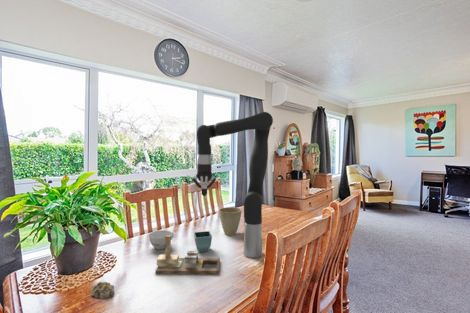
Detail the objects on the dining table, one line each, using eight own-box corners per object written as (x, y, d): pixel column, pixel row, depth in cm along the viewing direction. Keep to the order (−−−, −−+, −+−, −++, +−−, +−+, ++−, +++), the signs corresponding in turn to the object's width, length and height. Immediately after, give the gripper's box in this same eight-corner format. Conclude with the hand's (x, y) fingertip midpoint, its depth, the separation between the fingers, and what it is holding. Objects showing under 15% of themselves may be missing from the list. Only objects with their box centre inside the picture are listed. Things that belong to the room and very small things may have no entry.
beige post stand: (178, 260, 122) (178, 233, 121) (176, 265, 117) (176, 237, 116) (159, 260, 122) (160, 233, 121) (156, 265, 117) (156, 237, 116)
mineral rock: (85, 287, 97) (105, 274, 103) (88, 297, 99) (107, 283, 105) (98, 298, 91) (119, 283, 97) (102, 308, 92) (122, 292, 98)
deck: (219, 261, 126) (219, 248, 126) (218, 274, 113) (218, 260, 113) (163, 261, 126) (163, 248, 125) (155, 274, 113) (155, 260, 112)
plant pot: (242, 230, 173) (242, 207, 173) (240, 238, 159) (240, 213, 158) (220, 229, 175) (220, 206, 174) (216, 237, 160) (217, 212, 159)
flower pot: (195, 254, 134) (195, 237, 134) (193, 247, 142) (193, 232, 142) (211, 252, 136) (212, 236, 136) (209, 246, 145) (209, 231, 144)
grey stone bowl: (157, 254, 133) (157, 239, 133) (144, 248, 141) (144, 233, 141) (180, 246, 145) (180, 232, 144) (167, 240, 153) (167, 227, 152)
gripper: (217, 162, 138) (217, 194, 139) (192, 162, 138) (192, 194, 139) (216, 163, 131) (216, 197, 132) (190, 163, 131) (190, 197, 131)
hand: (204, 195), depth 135 cm, fingers closed
